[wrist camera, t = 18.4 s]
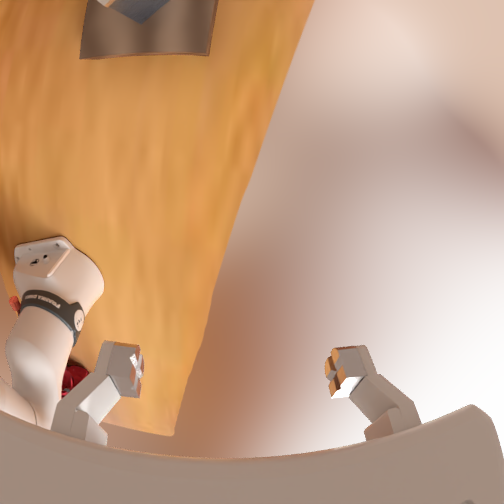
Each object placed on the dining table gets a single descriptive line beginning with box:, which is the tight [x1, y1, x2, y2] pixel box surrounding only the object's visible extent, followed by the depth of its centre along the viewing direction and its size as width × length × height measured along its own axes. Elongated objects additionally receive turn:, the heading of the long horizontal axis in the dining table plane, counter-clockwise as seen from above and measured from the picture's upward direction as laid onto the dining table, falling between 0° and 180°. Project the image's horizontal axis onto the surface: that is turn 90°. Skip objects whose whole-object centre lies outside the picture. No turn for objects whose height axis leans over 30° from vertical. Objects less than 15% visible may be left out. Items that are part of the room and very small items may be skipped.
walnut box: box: [80, 0, 218, 59], centre depth 23 cm, size 16×14×6 cm
